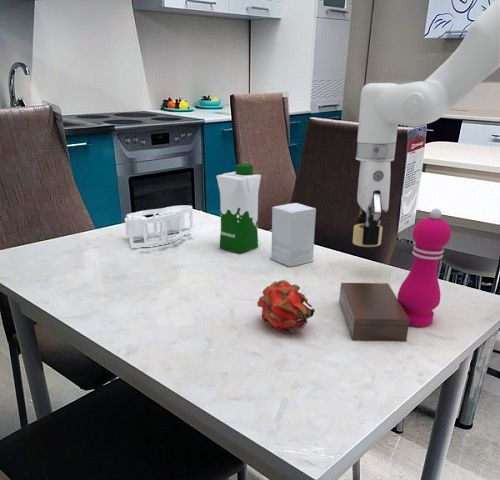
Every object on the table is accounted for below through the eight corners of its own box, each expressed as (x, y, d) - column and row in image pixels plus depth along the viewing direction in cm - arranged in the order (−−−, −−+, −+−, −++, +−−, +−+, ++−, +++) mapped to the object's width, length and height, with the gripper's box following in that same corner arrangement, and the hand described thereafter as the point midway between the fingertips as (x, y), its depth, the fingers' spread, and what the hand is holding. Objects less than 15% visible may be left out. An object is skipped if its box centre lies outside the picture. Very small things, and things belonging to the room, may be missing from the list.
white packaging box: (313, 261, 119) (317, 208, 113) (289, 267, 115) (291, 212, 109) (294, 253, 124) (296, 201, 119) (269, 258, 121) (271, 205, 115)
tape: (377, 238, 112) (379, 222, 110) (383, 247, 106) (385, 230, 105) (350, 239, 112) (351, 223, 110) (355, 247, 106) (356, 230, 105)
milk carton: (263, 247, 129) (265, 165, 119) (239, 255, 122) (239, 170, 113) (237, 240, 134) (237, 161, 124) (213, 248, 127) (211, 166, 118)
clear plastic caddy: (184, 228, 144) (182, 202, 140) (204, 237, 136) (203, 210, 132) (117, 240, 133) (114, 212, 130) (134, 250, 125) (131, 221, 122)
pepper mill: (406, 307, 96) (427, 201, 87) (442, 320, 91) (467, 210, 82) (385, 318, 91) (405, 207, 82) (422, 332, 87) (447, 216, 78)
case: (387, 302, 98) (389, 283, 96) (408, 341, 84) (412, 319, 82) (338, 301, 98) (340, 282, 97) (351, 340, 84) (354, 318, 82)
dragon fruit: (268, 317, 95) (302, 353, 87) (237, 301, 89) (271, 338, 81) (295, 281, 93) (333, 314, 85) (266, 262, 88) (303, 296, 79)
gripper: (405, 157, 93) (393, 252, 101) (384, 146, 108) (376, 229, 116) (364, 158, 93) (356, 252, 101) (349, 146, 108) (343, 229, 117)
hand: (367, 239), depth 109 cm, fingers closed on tape, 6 cm apart
